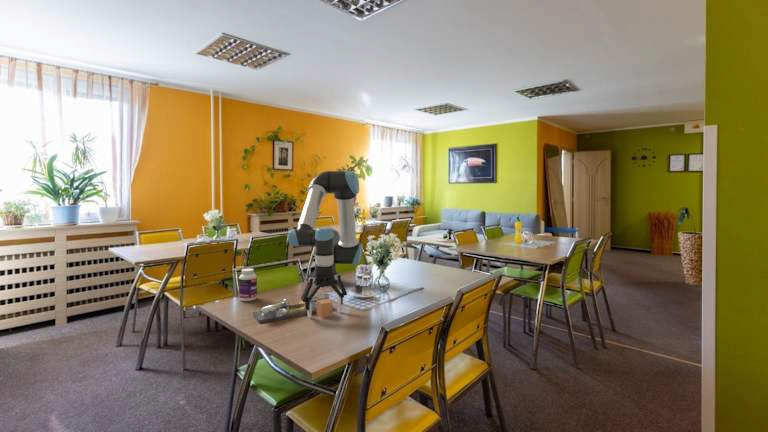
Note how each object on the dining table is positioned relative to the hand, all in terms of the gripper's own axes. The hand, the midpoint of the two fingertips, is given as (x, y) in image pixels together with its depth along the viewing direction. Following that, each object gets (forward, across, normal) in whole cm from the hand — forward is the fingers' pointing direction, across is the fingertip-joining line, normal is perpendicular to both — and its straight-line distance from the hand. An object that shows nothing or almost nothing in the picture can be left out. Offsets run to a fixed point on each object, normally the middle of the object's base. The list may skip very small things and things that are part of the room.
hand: (324, 314), depth 156 cm
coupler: (0, 0, 0) cm, 0 cm away
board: (0, +10, -10) cm, 14 cm away
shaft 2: (-1, 0, -10) cm, 10 cm away
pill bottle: (0, +23, -39) cm, 45 cm away
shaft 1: (-1, +19, -6) cm, 20 cm away
